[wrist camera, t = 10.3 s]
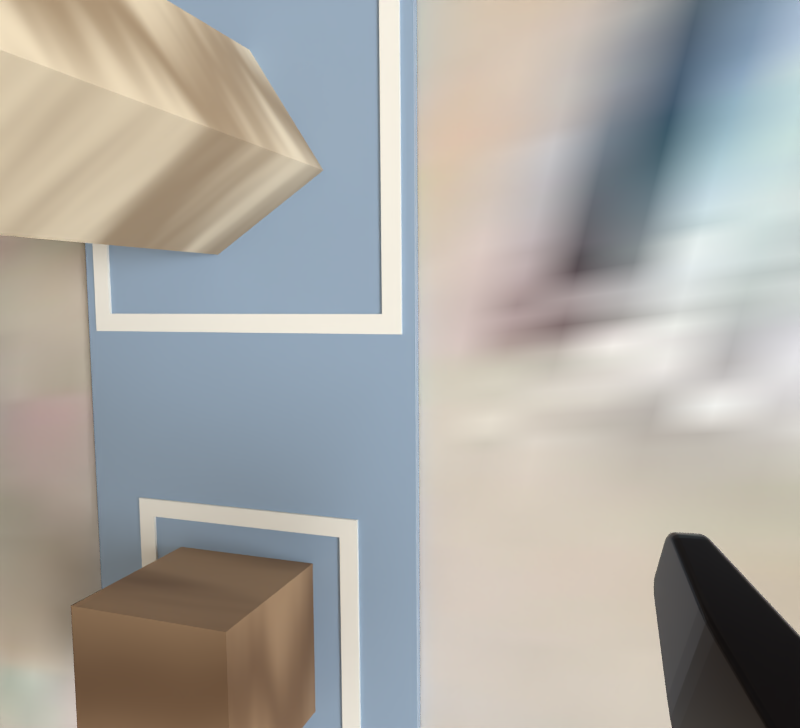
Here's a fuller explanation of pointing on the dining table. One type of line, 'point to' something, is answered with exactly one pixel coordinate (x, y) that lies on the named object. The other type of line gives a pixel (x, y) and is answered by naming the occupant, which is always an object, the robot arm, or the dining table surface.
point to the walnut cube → (198, 645)
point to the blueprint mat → (287, 361)
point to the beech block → (137, 128)
